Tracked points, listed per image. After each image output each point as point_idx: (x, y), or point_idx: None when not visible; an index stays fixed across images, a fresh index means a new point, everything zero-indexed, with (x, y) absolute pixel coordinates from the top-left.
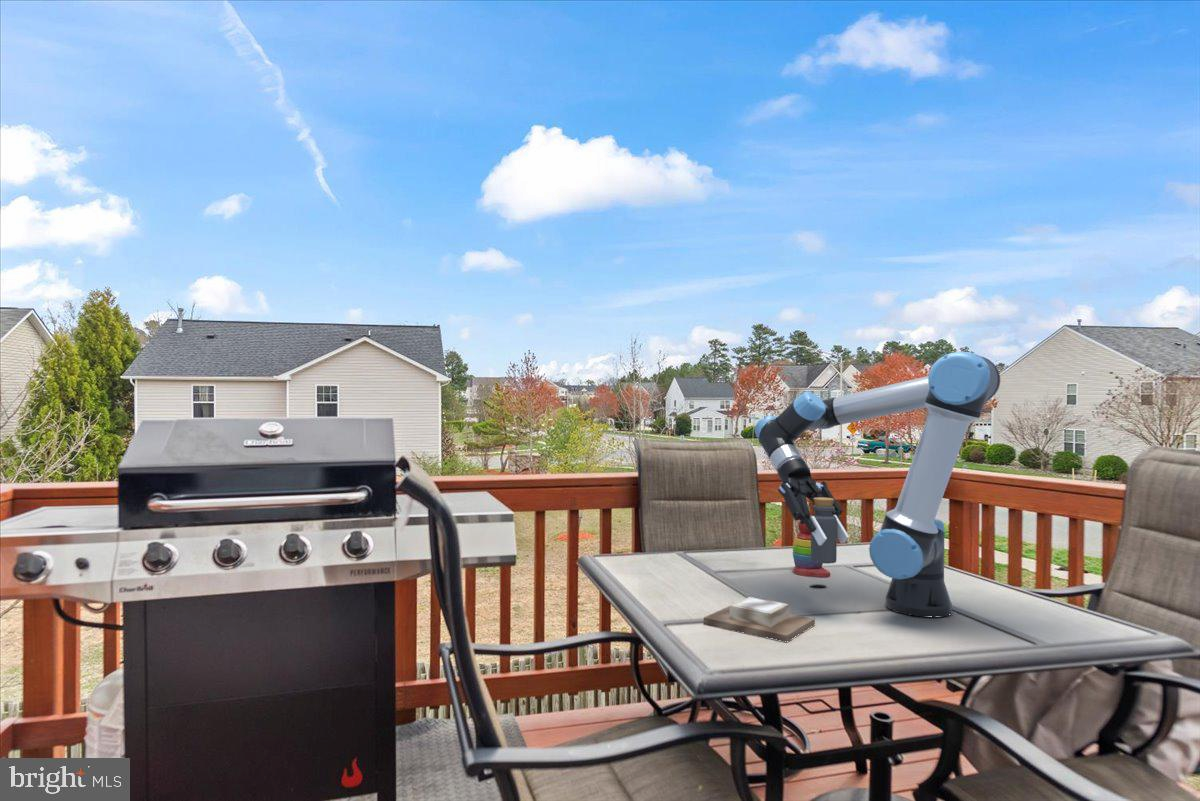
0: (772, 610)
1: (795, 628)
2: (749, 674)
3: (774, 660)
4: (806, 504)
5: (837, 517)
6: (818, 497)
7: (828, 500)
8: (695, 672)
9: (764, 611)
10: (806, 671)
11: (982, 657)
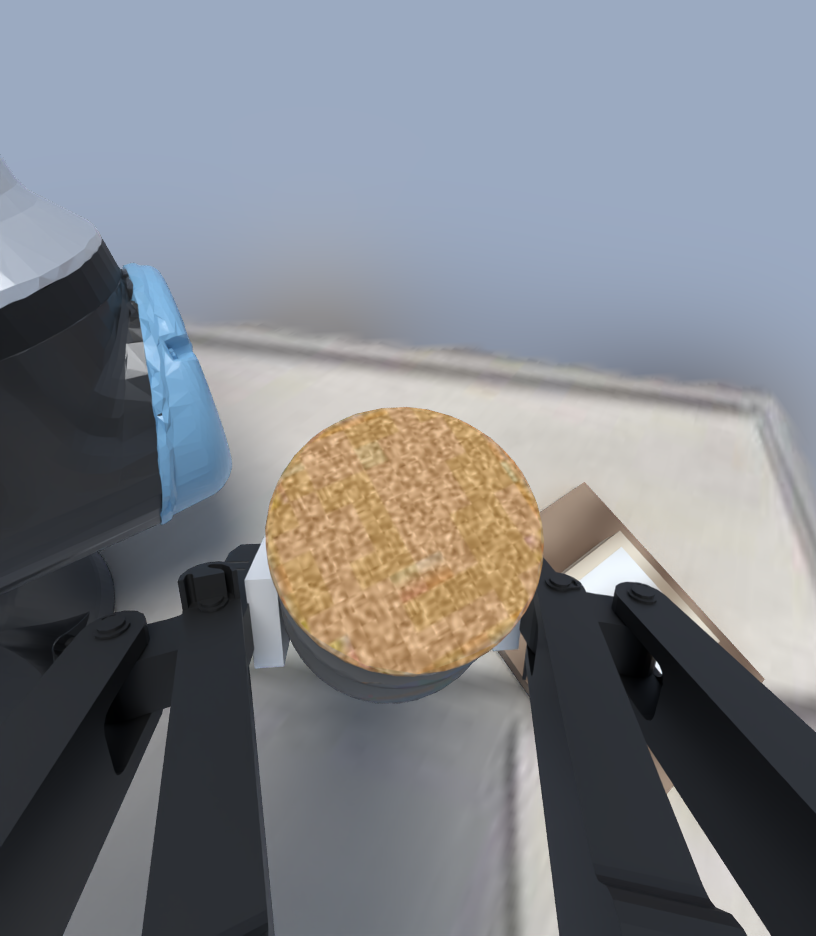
0: (604, 556)
1: (543, 518)
2: (693, 387)
3: (635, 420)
4: (573, 677)
5: (253, 563)
6: (411, 650)
7: (424, 413)
8: (779, 418)
9: (630, 554)
10: (599, 371)
11: (260, 327)
